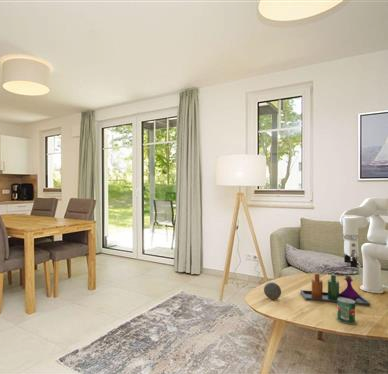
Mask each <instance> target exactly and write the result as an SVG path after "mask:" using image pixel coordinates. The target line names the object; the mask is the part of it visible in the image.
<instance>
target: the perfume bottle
mask: <svg viewBox="0 0 388 374" xmlns="http://www.w3.org/2000/svg"><path fill="white" fill-rule="evenodd" d="M346 272H347V275H345V277H344V281H346V285H347V286H346V287H345V289H344V290H342V291H341V292H339V293H340V294H341V296H342V297H344V298H349V299H352V300H354V301H355V300H356V299H357V298H358V297H359V296H360V295H361V294H359V293H358V292H357V291H356V290H355V289H354V287H353V285H352V281H354V280H353V279H352V276H350V275H351V274H354V270H349V269H347V271H346Z"/></svg>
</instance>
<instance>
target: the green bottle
mask: <svg viewBox="0 0 388 374" xmlns="http://www.w3.org/2000/svg"><path fill="white" fill-rule="evenodd" d="M327 292H328V299H330V300H337V298H339V293H340V281H339V280H337V275H336V274H334V273H331V274H330V279H328V280H327Z"/></svg>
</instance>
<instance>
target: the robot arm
mask: <svg viewBox="0 0 388 374" xmlns="http://www.w3.org/2000/svg"><path fill="white" fill-rule="evenodd" d="M382 216H384V217H388V198H387V197H368V198H366V199H364V201H362V202H361V204H360V205H359V206H355V207H353V208H349V209H347V210H345V211H344V212H343V213H342V214H341V215H340V217H339V224H340V225H341V226H342V239H343V253H344V254H343V255H344V256H343V257H344V259H343V260H344V263H347V264H350V268H358V257H359V255H360V251H361V254H362V255H361V256H362V285H360V286H359V289H360V290H361V291H363V292H367V293H370V294H371V293H372V294H383V293H384V292H385V291H384V290H388V285H385V284H382V283H381V281H382V280H381V279H382V278H381V277H382V271H381V270H382V265H381V263H380V261H379V260H383V261H388V229H386V226H387V223H386V221H385V220H384V218H383V217H382ZM368 219H369V220H368ZM368 224H369V227H368V230H367V235H366V239H367V241H368V242H365V243H363V244H362V245H361V248H360V249H361V250H360V251H359V229H364V228H366V227H367V226H368Z"/></svg>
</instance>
